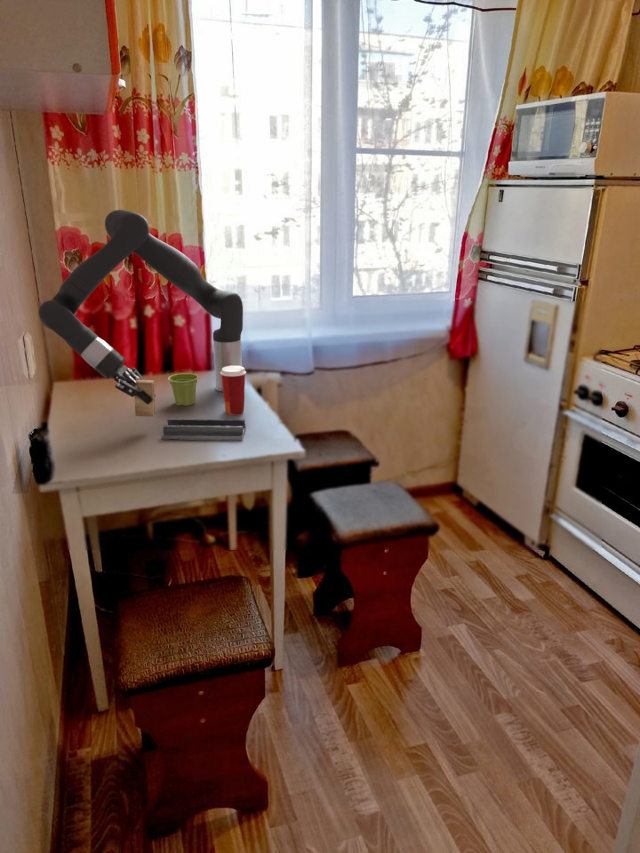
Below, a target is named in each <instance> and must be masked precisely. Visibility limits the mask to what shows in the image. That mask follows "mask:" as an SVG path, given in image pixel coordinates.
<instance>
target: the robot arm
mask: <svg viewBox="0 0 640 853" xmlns="http://www.w3.org/2000/svg"><path fill="white" fill-rule="evenodd" d="M104 220H105V221H104V227H105V231H106V233H107V235H108V236H109V238H110V239H109V240H108V242H107V243H106V244H105V245H103V247H101V248H100V249H99V250H98V251H97V252H95V253H94V254H92V255H91V256H89V257H88V258H87V259H85V260H84V261H81V263H80V264H78V266H76V267H75V268H74V269H73V271H72V272H71V273H70V274H69V275H68V276H67V277H66V279H65V280H64V281H63V282H62V283H61V285H60V286H59V290H58V292H57V293H56V294H55V295H54V297H53V298H52V299H51V300H46V301H44V302H43V303H42V304H40V306H39V308H38V317H39V320H40V322H42V325H43V326H45V327H46V328H47V329H49V330H52V331H53V332H54V333H56V334H57V335H58V336H59V337H61V338H62V339H63V340H64V341H65V343H66V344H67V345H68V346H69V347H70V348H71V349H72V350H74V352H75V353H77V354H78V355H79V356H80V357H81V358H82V359H83V360H84V361H85V362H86V363H87V364H88V365H89V366H90V367H92V368H93V369H94V370H95V371H96V372H97V373H98V374H100V375H101V376H102V377H103V378H104V379H110V378H112V379H113V380H114V381H115V382H116V384H115V385H114V387H115V389H117V390H119V391H121V392H122V393H124V394H125V395H128V396H130V397H132V398H134V396H136V397H137V396H138V397H139V398H140V399H141V400H142V401H144V402H145V403H146V404H150V402H151V401H152V400H153V398H152V397H150V396H149V395H148V394H147V393H146V392H145V391H142V389H141V388H140V387H139V386H138V385H137V382H136V381H135V380H145V378H143V376H142V374H140V372H139V371H138V370H137V368H135V367H132V368H129V366H126V365H125V364H124V363H125V361H126V359H125V357H124V356H122V355H121V354H120V353H119V352H118V351H117V350H116V349H115V348H114V347H112V346H111V345H110V344H109V343H107V342H106V341H105V340H104V339H102V338H101V337H99V336H98V335H97V334H96V333H95V332H94V331H92V330H91V329H90V328H89V327H88V326H86V325H85V324H83V322H81V321H80V320H79V319H78V317H77V316H76V315H75V314H76V313H77V311H78V310H79V308H80V306H81V305H82V304H83V303H84V302H85V301H86V300H87V299H88V298H89V297H90V295H91V294H92V293H93V292H94V290H95V289H97V287H98V286H99V285H100V284H101V283H102V282H103V281H104V280H105V278H106V277H107V276H108V275H109V274H110V273H111V272H112V271H113V270H115V268H117V266H118V265H120V264H121V263H123V261H124V260H125V259H126V258H127V257H129V256H130V255H131V254H132V253H133V254H135V255H136V256H138V257H139V258H140V259H142V260H143V261H144V262H145V263H146V264H147V265H148V266H150V267H151V268H152V269H153V270H154V271H156V272H157V273H158V274H159V275H160V276H161V277H163V278H164V279H165V280H167V281H168V282H169V283H171V284H172V285H173V286H174V287H176V288H178V289H179V290H180V291H182V292H183V293H184V294H186V295H188V296H189V297H190V298H192V299H193V300H194V301H196V302H197V303H198V304H199V305H200V306H201V307H202V308H203V309H204V310H205V311H206V312H207V313H208V314H209V315H210V316H212V317H214V318H216V319H218V320H219V319H220V327H219V328H218V329H215V330H214V331H213V332H212V343H213V359H214V361H213V362H214V379H215V381H214V383H215V390H217V391H219V392H222V393H224V392H223V383H222V375H221V373H220V372H221V370H222V368H224V367H226V366H241V367H243V364H242V362H243V361H242V340H241V339H242V337H241V336H242V332H243V328H244V327H243V326H244V325H243V324H244V305H243V300H242V298H241V297H240V295H239V294H238V293H236V292H232V291H228V290H227V291H226V290H222V289H219V288H216V287H215V286H214V285H212V284H210V283H209V282H208V281H207V280H206V279H205V278H204V277H203V275H202V272H201V270H200V269H199V267H198V266H197V264H196V263H195V262H194V261H192V260H191V259H190V258H189V257H188V256H187V255H185V254H184V253H183V252H181V251H180V250H178V249H177V248H175V247H174V246H172V245H169V244H168V243H166V242H164V241H162V240H161V239H159V238H158V237H155V236H153V235H152V234H151V233H150V226H149V223H148V220H147V219H146V218H145V217H144V215H141V214H140V213H137V212H134V211H130V210H126V209H116V210H113V211H111V212H109V213H108V214H107V216H106V217H105V219H104ZM135 387H136V388H135Z"/></svg>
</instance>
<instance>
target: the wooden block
mask: <svg viewBox="0 0 640 853" xmlns="http://www.w3.org/2000/svg"><path fill="white" fill-rule="evenodd" d="M135 381H136V382H137V385H138V386H139V387H140V388H141V389H142V391H145V392H146V393H147V394H148V395H149V396H150V397H152V398H153V400H152V401H151V402H150V404H146V403H145V402H144V401H142V400H141V399H140V398H139V397H138V396H137V397H136V396H134V397H133V399H134V412H135V414H134V415H135V417H145V418H146V417H147V418H154V416H156V394H155V393H156V392H155V380H151V379H144V380H135ZM135 388H136V387H135Z"/></svg>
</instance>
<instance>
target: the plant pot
mask: <svg viewBox="0 0 640 853" xmlns="http://www.w3.org/2000/svg"><path fill="white" fill-rule="evenodd" d="M167 378H168V379H167V380H168V381H169V383H170V385H171V389H172V393H173V397H174V402H175V404H176V405H177V406H183V407H187V406H191V405H193V404H194V403H196V391H197V383H198V379H199V376H198V375H197V374H194V373H190V372H189V373H187V372H185V373H183V372H182V373H176V374H172V375H170V376H169V377H167Z"/></svg>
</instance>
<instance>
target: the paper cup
mask: <svg viewBox="0 0 640 853" xmlns="http://www.w3.org/2000/svg"><path fill="white" fill-rule="evenodd" d="M220 373H221V375H222V383H223V392H222V393H223V398H224V399H223V400H224V408H225V413H226V415H229V416H239V415H242V414H244V413H245V394H246V393H245V391H246V389H245V388H246V387H245V385H246V382H245V381H246V374H247V371H246V369H245V367H243V366H242V367H241V366H226V367H224V368H222V370H221V372H220ZM243 412H244V413H243Z"/></svg>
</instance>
